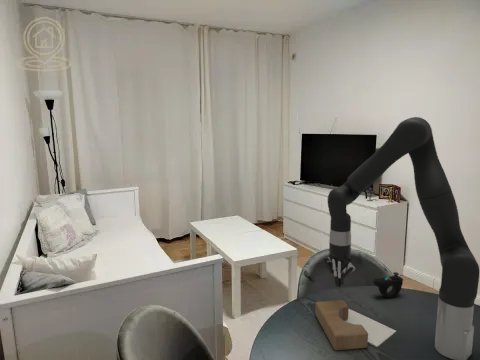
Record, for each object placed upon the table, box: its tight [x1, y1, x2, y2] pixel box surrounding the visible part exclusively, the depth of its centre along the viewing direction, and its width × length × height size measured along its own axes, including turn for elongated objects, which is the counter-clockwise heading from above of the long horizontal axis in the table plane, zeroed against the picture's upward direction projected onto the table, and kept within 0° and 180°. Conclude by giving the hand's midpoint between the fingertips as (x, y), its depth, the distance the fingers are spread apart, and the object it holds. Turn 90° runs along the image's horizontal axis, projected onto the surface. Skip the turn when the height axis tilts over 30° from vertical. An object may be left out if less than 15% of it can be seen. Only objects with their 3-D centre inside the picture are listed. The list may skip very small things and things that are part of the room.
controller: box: [372, 271, 404, 299], centre depth 140 cm, size 4×12×10 cm, turn 102°
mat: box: [344, 308, 397, 348], centre depth 121 cm, size 20×12×1 cm, turn 39°
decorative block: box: [314, 299, 369, 351], centre depth 118 cm, size 11×6×20 cm
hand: (338, 285), depth 126 cm, fingers closed
